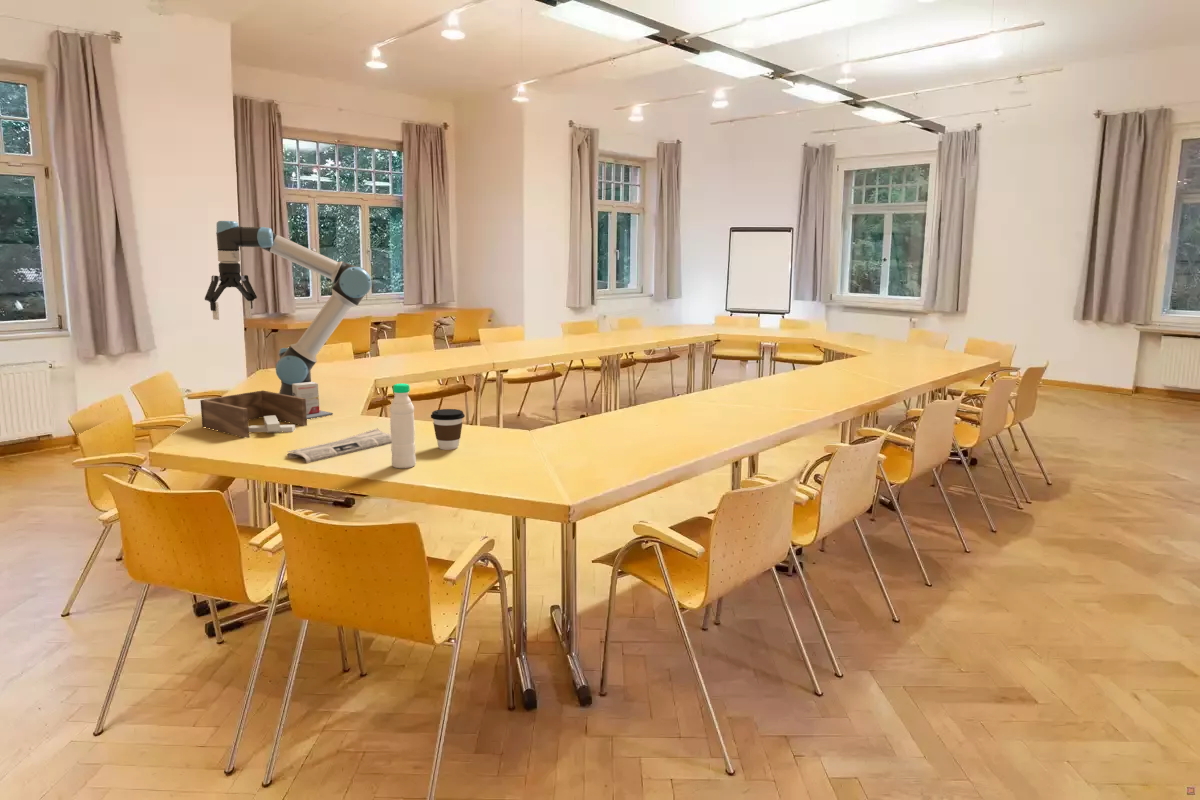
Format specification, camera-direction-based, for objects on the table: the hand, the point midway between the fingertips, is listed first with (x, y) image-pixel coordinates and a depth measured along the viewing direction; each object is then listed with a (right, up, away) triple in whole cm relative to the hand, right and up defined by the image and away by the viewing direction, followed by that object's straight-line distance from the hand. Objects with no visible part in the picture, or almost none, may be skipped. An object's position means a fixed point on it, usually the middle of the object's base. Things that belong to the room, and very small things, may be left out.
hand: (232, 318), depth 305 cm
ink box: (+28, -37, +1) cm, 46 cm away
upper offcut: (+25, -41, -25) cm, 54 cm away
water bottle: (+82, -51, -66) cm, 117 cm away
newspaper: (+58, -48, -47) cm, 88 cm away
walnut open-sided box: (+17, -41, -18) cm, 48 cm away
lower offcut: (+25, -43, -24) cm, 55 cm away
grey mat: (+28, -37, +2) cm, 47 cm away
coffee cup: (+91, -47, -43) cm, 111 cm away
